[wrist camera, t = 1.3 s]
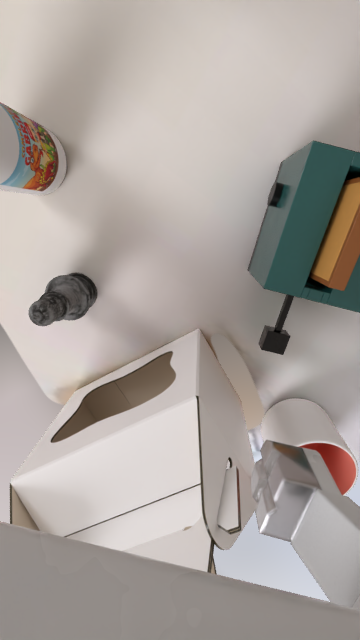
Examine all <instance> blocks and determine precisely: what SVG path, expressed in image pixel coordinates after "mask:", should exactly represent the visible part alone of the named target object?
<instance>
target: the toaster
mask: <svg viewBox="0 0 360 640" xmlns="http://www.w3.org/2000/svg"><path fill="white" fill-rule="evenodd" d="M359 177H360V153H359V152H355V151H352V150H348V149H344V148H340V147H336V146H332V145H329V144H325V143H321V142H317V141H312V142H311V143H309V144H308V145H306V146H305V147H303V148H302V149H300V150H299V151H297V152H296V153H295V154H293V155H292V156H290V157H289V158H287V159H286V160H284V161H283V162H281V164H280V168H279V171H278V174H277V177H276V180H275V183H274V184H273V186H272V189H271V191H270V194H269V197H268V203H267V204H268V206H267V209H266V213H265V216H264V219H263V222H262V225H261V229H260V232H259V235H258V238H257V241H256V245H255V248H254V251H253V254H252V257H251V261H250V264H249V267H248V271H249V272H250V273H251V275H252V276H253V277H254V278H255V279H256V280H257V281H258V282H259V284H260V285H261V286H262V287H263V288H264V289H268V290H272V291H276V292H280V293H284V294H288V295H292V296H296V297H301V298H304V299H308V300H312V301H316V302H320V303H323V304H327V305H331V306H335V307H339V308H343V309H347V310H351V311H355V312H359V313H360V255H359V257H358V259H357V262H356V264H355V267H354V269H353V271H352V274H351V276H350V278H349V281H348V283H347V285H346V288H345V290H344V291H341V290H337V289H333V288H329V287H327V286H325V285H324V284H322V283H320V282H318V281H316V280H314V279H313V278H311V277H309V273H310V271H311V268H312V265H313V263H314V260H315V257H316V255H317V252H318V249H319V247H320V244H321V241H322V239H323V236H324V234H325V231H326V228H327V226H328V223H329V220H330V218H331V215H332V212H333V210H334V207H335V204H336V202H337V199H338V197H339V194H340V191H341V189H342V186H343V183H344V181H347V180H351V179H355V178H359Z"/></svg>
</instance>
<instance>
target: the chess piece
mask: <svg viewBox="0 0 360 640" xmlns="http://www.w3.org/2000/svg"><path fill="white" fill-rule="evenodd" d="M96 296H97V292H96V287H95V285H94V283H93V282H92V281H91V279H89V278H88V277H87V276H85V275H83V274H79V273H71V274H69V275H63V276H58V277H55V278H54V279H52V280H51V281H50V282H49V283H48V285H47V287H46V290H45V293H44V294H43V295H42V296H41V298H40V300H38V301H36V302H34V303H33V304H32V305H31V307H30V308H29V317H30V319H31V320H32V322H33V323H35V324H36V325H38V326H47V325H50V324H51V323H53V322H54V321H60V320H63V319H64V320H76V319H79V318H81V317H82V316H84V315H85V314H86V312H87V311H88V309H89V308H90V307H91V306H92V305H93V304H94V302H95V300H96Z"/></svg>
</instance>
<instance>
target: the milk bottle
mask: <svg viewBox="0 0 360 640" xmlns="http://www.w3.org/2000/svg"><path fill="white" fill-rule="evenodd" d="M66 168H67V162H66V155H65V152H64V149H63V147H62V145H61V143H60V142H59V140H58V139H57V137H56V136H55V135H54V134H53V133H52V132H50V131H49V130H47V129H46V128H44V127H43V126H41V125H39V124H38V123H36V122H34V121H32V120H31V119H29V118H27V117H25V116H24V115H22V114H20V113H18V112H17V111H15V110H13V109H11V108H9V107H8V106H6V105H4V104H2V103H0V190H2V191H9V192H16V193H23V194H31V195H46V194H49V193H51V192H53V191H55V190H56V189H57V188H58V187H59V186H60V185H61V183H62V181H63V180H64V177H65V174H66Z"/></svg>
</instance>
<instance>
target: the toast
mask: <svg viewBox="0 0 360 640" xmlns="http://www.w3.org/2000/svg"><path fill="white" fill-rule="evenodd" d="M359 255H360V177H359V178H355V179H351V180H347V181H344V183H343V186H342V189H341V191H340V194H339V197H338V199H337V202H336V204H335V207H334V210H333V212H332V215H331V218H330V220H329V223H328V226H327V228H326V231H325V234H324V236H323V239H322V241H321V244H320V247H319V249H318V252H317V255H316V257H315V260H314V263H313V265H312V268H311V271H310V273H309V277H311V278H313V279H314V280H316V281H318V282H320V283H322V284H324V285H325V286H327V287H329V288H333V289H337V290H341V291H344V290H345V288H346V285H347V283H348V281H349V278H350V276H351V274H352V271H353V269H354V267H355V264H356V262H357V259H358V257H359Z"/></svg>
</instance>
